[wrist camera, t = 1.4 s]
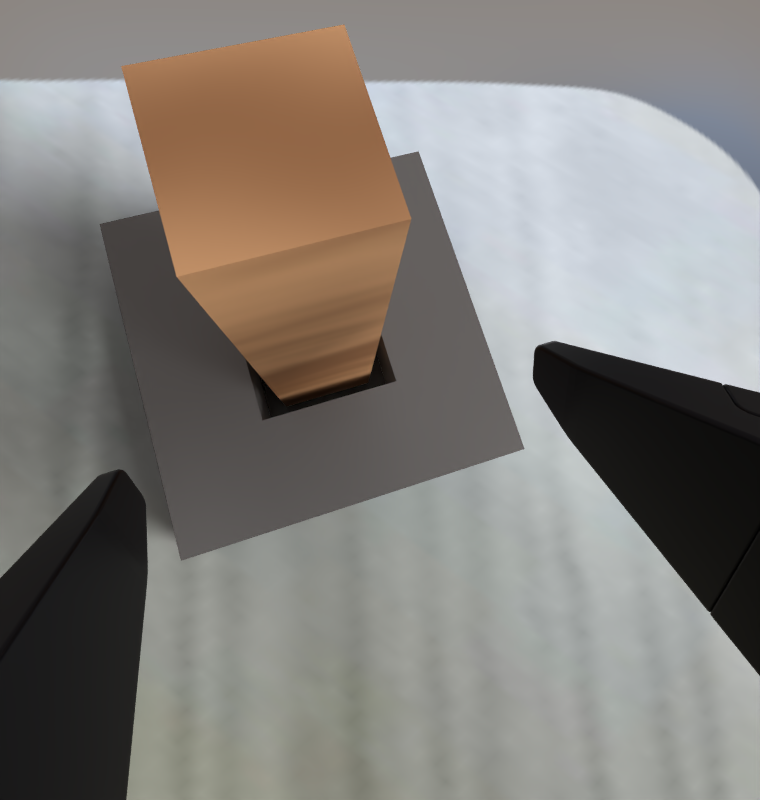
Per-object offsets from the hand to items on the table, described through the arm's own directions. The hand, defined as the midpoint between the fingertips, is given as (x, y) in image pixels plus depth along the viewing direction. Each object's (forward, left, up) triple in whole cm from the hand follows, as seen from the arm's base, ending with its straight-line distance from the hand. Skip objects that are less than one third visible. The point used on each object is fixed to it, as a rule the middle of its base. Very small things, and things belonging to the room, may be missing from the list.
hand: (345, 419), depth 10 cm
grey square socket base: (+4, -3, -11) cm, 12 cm away
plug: (+4, -3, -11) cm, 12 cm away
